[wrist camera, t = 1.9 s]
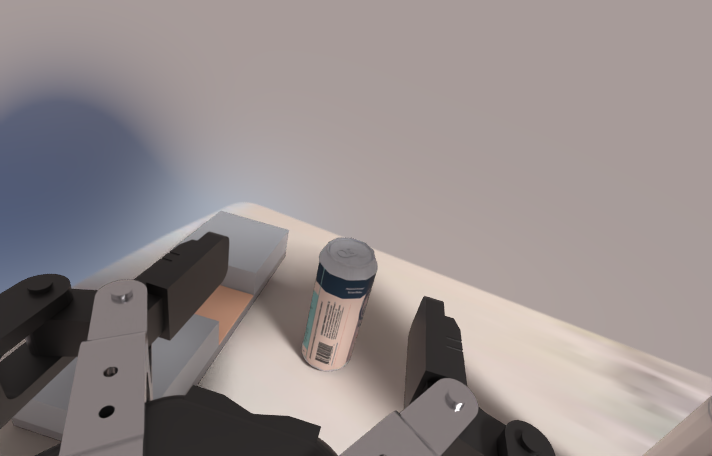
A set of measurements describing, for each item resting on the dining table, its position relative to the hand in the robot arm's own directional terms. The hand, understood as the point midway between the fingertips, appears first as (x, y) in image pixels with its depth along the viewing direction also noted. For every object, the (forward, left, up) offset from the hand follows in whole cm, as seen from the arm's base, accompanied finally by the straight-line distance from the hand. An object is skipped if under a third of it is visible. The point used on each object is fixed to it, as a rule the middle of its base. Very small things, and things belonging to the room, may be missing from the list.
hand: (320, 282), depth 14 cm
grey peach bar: (+13, -12, -18) cm, 26 cm away
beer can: (0, -12, -18) cm, 22 cm away
